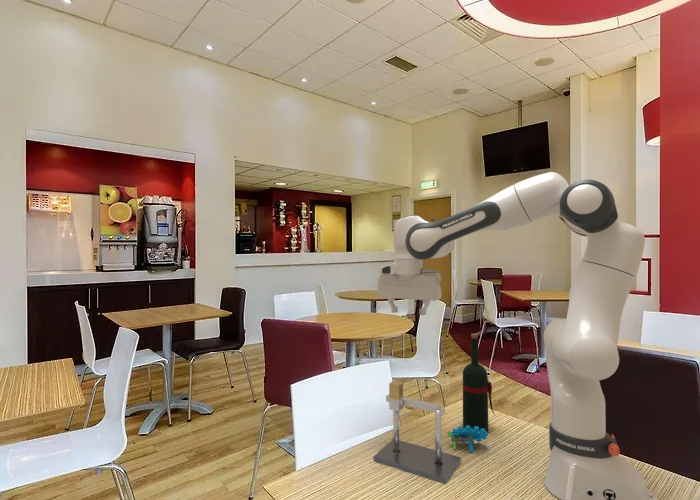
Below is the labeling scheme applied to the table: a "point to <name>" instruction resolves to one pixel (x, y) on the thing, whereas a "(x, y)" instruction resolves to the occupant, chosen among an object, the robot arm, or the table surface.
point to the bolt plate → (418, 460)
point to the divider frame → (439, 412)
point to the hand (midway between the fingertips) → (408, 313)
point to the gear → (467, 435)
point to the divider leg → (396, 407)
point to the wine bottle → (476, 391)
